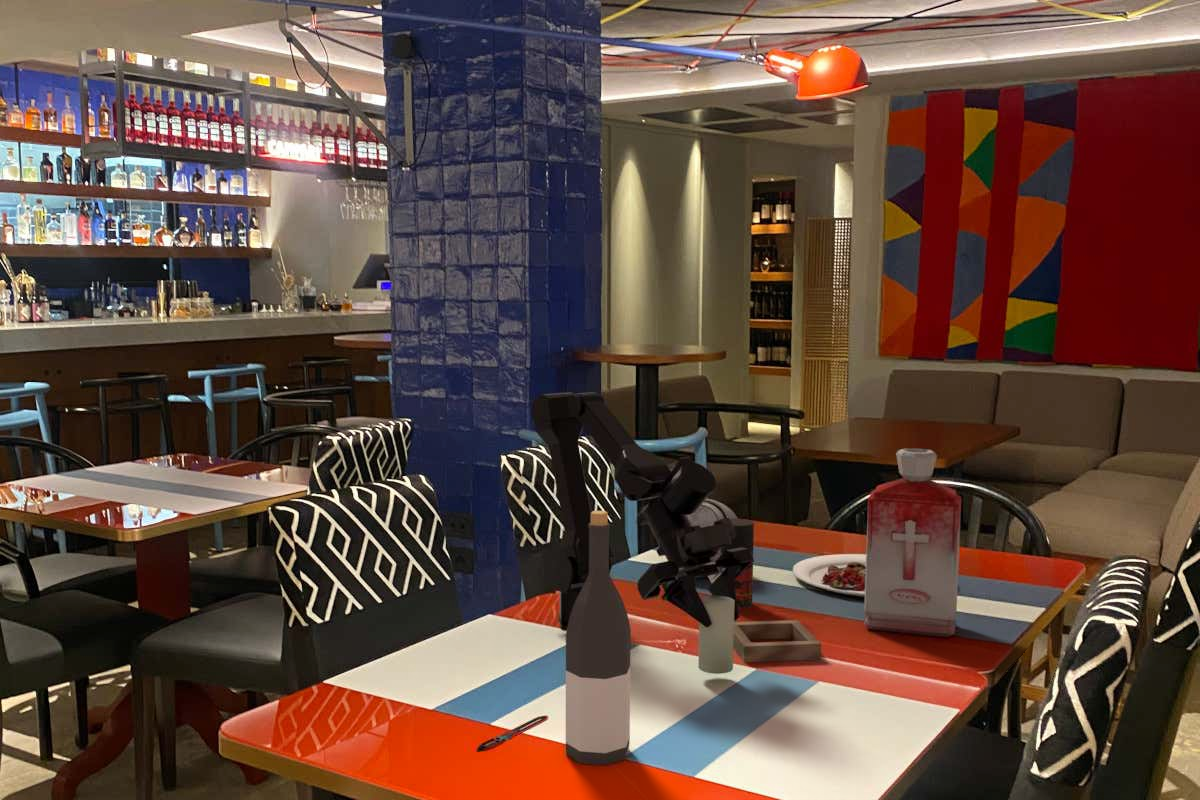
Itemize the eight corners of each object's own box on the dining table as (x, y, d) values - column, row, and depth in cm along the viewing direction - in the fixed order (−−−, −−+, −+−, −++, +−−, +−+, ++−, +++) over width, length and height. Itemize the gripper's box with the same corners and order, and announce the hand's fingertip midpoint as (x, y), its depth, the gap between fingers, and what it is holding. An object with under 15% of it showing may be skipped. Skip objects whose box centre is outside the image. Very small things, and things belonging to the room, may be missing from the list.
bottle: (956, 623, 193) (963, 448, 189) (954, 641, 183) (961, 457, 180) (869, 614, 197) (874, 443, 194) (862, 631, 188) (868, 452, 184)
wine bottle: (608, 771, 134) (610, 522, 131) (552, 755, 138) (552, 514, 135) (642, 747, 141) (645, 510, 138) (587, 733, 145) (588, 502, 142)
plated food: (970, 576, 224) (971, 560, 224) (925, 614, 199) (926, 595, 198) (826, 556, 240) (826, 540, 240) (767, 588, 215) (767, 570, 214)
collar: (744, 662, 172) (744, 646, 172) (725, 637, 184) (726, 622, 184) (820, 659, 174) (820, 643, 174) (797, 634, 186) (798, 620, 186)
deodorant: (714, 607, 201) (716, 524, 200) (723, 598, 207) (725, 517, 205) (747, 611, 199) (749, 527, 197) (755, 602, 204) (757, 520, 203)
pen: (553, 719, 151) (553, 714, 151) (483, 755, 139) (483, 750, 139) (541, 716, 152) (541, 711, 152) (471, 751, 140) (471, 746, 140)
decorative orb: (654, 576, 221) (655, 501, 220) (688, 561, 233) (689, 489, 232) (723, 588, 213) (724, 509, 212) (754, 571, 226) (756, 497, 224)
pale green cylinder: (702, 674, 162) (703, 606, 161) (695, 662, 167) (696, 596, 166) (736, 673, 163) (738, 605, 161) (728, 661, 167) (729, 595, 166)
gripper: (651, 509, 160) (702, 604, 152) (746, 494, 171) (799, 582, 163) (616, 552, 167) (663, 645, 159) (710, 535, 178) (758, 621, 170)
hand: (723, 622), depth 163 cm, fingers closed on pale green cylinder, 5 cm apart
